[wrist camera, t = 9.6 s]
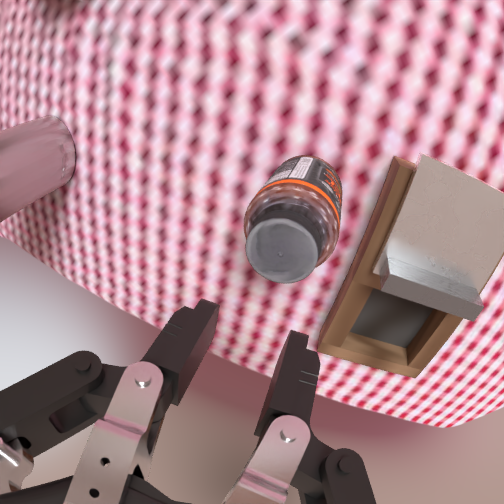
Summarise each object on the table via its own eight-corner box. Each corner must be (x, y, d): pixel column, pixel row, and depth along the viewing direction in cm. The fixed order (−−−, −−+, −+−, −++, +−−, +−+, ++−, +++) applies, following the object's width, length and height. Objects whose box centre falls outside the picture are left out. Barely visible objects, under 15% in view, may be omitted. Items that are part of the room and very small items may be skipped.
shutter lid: (372, 267, 25) (373, 290, 22) (420, 151, 19) (430, 163, 16) (468, 300, 23) (476, 324, 21) (522, 202, 18) (540, 220, 15)
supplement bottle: (352, 207, 26) (352, 287, 17) (289, 227, 29) (256, 309, 19) (326, 142, 24) (311, 186, 15) (261, 167, 27) (208, 224, 17)
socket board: (320, 331, 34) (316, 351, 31) (394, 155, 23) (400, 165, 20) (413, 358, 32) (415, 378, 30) (507, 207, 21) (520, 222, 19)
